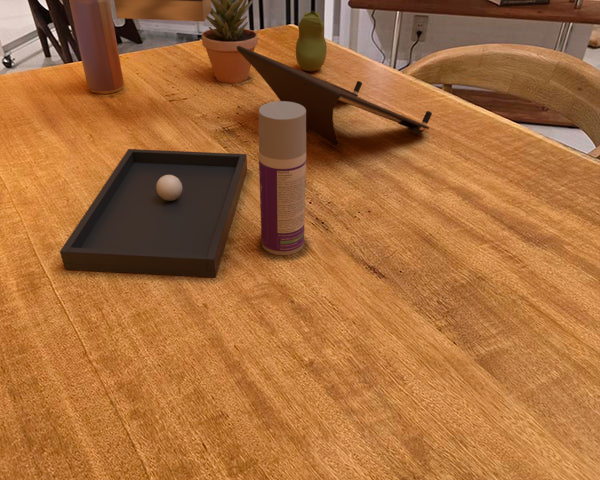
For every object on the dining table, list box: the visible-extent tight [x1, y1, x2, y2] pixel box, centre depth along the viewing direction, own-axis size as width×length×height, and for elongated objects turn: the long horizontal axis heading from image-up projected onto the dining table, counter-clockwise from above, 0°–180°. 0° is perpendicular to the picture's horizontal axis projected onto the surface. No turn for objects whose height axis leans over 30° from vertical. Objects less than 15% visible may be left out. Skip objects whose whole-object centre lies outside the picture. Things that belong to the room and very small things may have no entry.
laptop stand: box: [237, 46, 433, 147], centre depth 86 cm, size 23×23×9 cm
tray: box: [59, 148, 248, 278], centre depth 68 cm, size 16×24×2 cm, turn 176°
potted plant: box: [201, 0, 259, 84], centre depth 98 cm, size 10×10×25 cm
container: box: [258, 100, 307, 256], centre depth 60 cm, size 5×5×15 cm
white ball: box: [156, 175, 182, 201], centre depth 69 cm, size 3×3×3 cm
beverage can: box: [68, 0, 125, 95], centre depth 95 cm, size 6×6×15 cm
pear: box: [295, 10, 328, 73], centre depth 105 cm, size 6×5×10 cm
